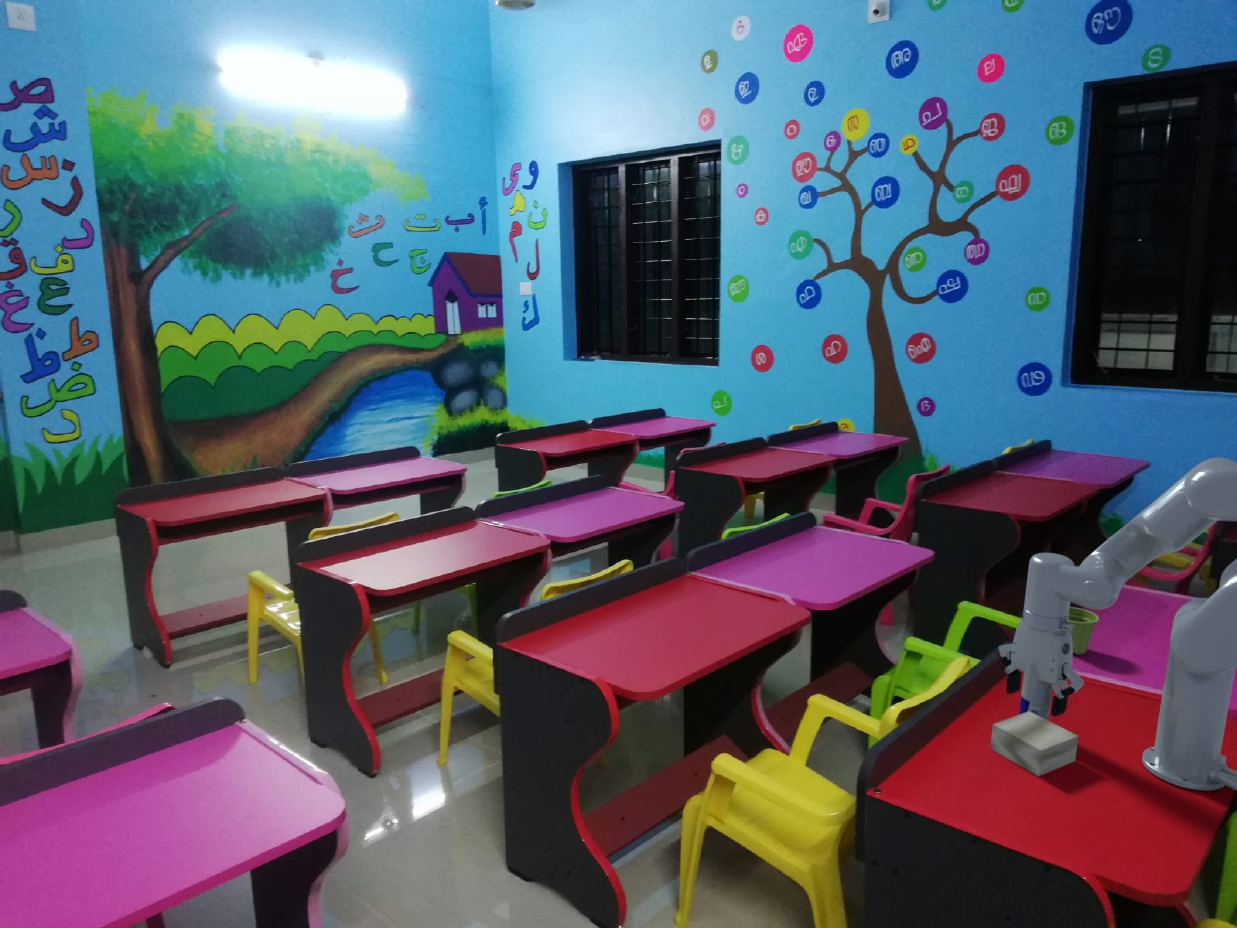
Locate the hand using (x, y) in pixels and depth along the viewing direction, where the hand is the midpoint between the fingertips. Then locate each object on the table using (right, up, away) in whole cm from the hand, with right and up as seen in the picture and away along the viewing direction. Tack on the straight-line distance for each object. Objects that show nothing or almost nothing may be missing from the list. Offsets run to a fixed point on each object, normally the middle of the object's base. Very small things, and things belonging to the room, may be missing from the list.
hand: (1034, 702), depth 166 cm
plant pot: (+25, +2, +36) cm, 44 cm away
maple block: (-4, -7, -8) cm, 11 cm away
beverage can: (0, -6, +1) cm, 6 cm away
